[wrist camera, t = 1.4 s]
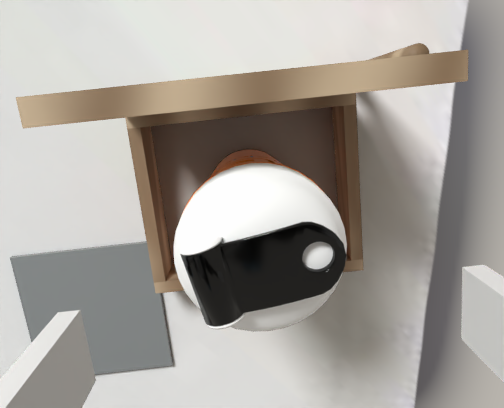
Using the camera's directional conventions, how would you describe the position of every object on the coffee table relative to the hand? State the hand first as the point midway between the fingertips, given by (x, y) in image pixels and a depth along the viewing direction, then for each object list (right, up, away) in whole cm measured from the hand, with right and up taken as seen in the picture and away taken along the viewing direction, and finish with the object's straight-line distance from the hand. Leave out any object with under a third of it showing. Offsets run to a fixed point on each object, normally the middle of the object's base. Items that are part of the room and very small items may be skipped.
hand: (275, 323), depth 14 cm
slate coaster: (-16, -6, +26) cm, 31 cm away
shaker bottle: (-1, +6, +24) cm, 25 cm away
